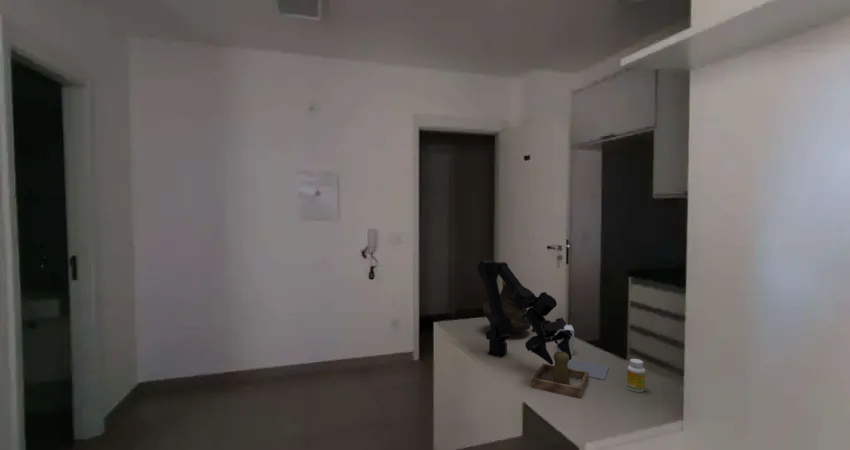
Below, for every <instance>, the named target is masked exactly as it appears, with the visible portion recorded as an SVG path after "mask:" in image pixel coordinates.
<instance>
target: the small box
mask: <svg viewBox="0 0 850 450" xmlns="http://www.w3.org/2000/svg"><path fill="white" fill-rule="evenodd" d="M564 328H565V329H560V330H557V331H558V332H557V334H558V333H559V332H560V331H562V330H570V332H571V333H572V336H571V339H570V340H569V348H570V352H571V356H572V355H575V354H574V353H575V329H574V327H573V325H572V324H566V326H564ZM557 349H558V352H562V351H561V350H560V349H559V348H558V347H557Z"/></svg>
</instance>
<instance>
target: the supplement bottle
mask: <svg viewBox="0 0 850 450" xmlns="http://www.w3.org/2000/svg"><path fill="white" fill-rule="evenodd" d="M626 375H627V376H626V378H627V379H626V388H627V389H628V390H630V391H632V392H635V393H642V392H644V391H645V387H646V386H645V385H646V383H645V382H646V369H645V367H644V361H643V360H641V359H638V358H631V359H630V360H629V365H628V366H627V374H626Z"/></svg>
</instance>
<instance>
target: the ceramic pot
mask: <svg viewBox="0 0 850 450" xmlns="http://www.w3.org/2000/svg"><path fill="white" fill-rule="evenodd" d="M501 284H502V289H501V291H500V292H499V294H500V298H501V303H502V307H503V312H504V315H505V316H506V317H507V318H510V320H511V325H512V332H511V334H514V333H521V332H525V331H528V330H529V329H530V328H531V327H532V326H531V324H530V322H529V321H528V319H527V318H526V319H522V316H523V312H524V311H527V310H528V308H526V309H519V308H518V307H517V306H516V304H515V302H514V300H513V294H512V292H511V291H510V289H509V288H508V287H507V285H506V284H505V282H504V281H503V280H502V281H501ZM482 310H483V313H484V315H485V317H486V319H487V320H488V322H489V323H490V322H491V318H492V313H491V309H490V304H489V300H488V301H485V303H484V304H483V305H482Z"/></svg>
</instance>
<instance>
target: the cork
mask: <svg viewBox="0 0 850 450" xmlns="http://www.w3.org/2000/svg"><path fill="white" fill-rule="evenodd" d="M553 360H554V361H553V362H554V364H553V365H554V371H553V374H552V378H551V382H556V383H561V384H566V385H570V378H569V374H568V364H569V362H570V360H569V355H568V354H567V353H565V352H559V351H555V352H554V354H553ZM570 386H571V385H570Z"/></svg>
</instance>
